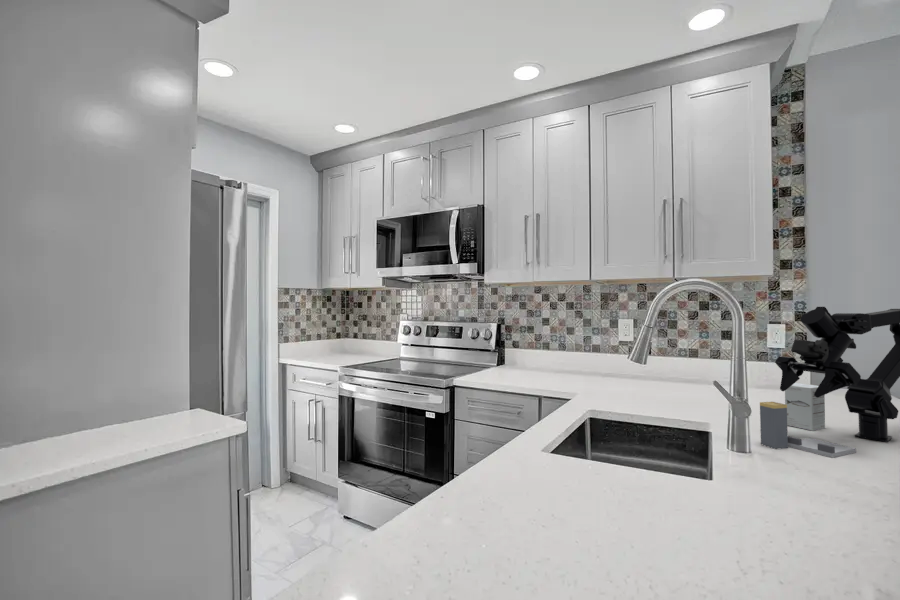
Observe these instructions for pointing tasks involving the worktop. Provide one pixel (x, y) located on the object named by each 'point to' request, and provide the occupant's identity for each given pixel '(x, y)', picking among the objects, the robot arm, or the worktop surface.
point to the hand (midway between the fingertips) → (797, 393)
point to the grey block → (773, 424)
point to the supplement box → (805, 407)
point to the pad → (820, 447)
